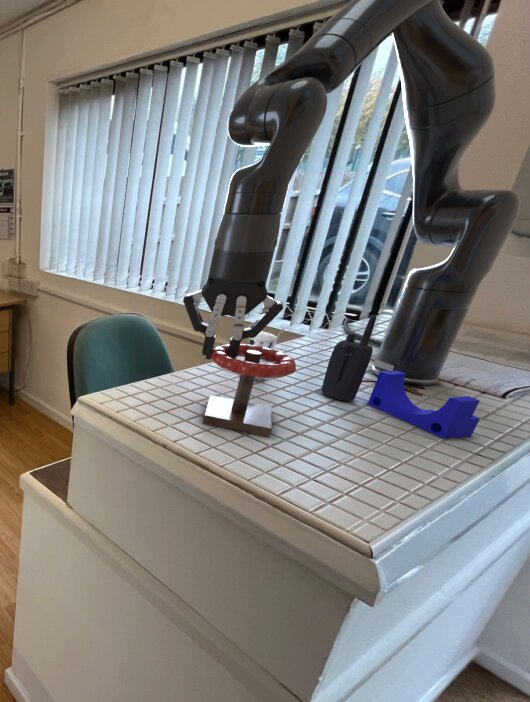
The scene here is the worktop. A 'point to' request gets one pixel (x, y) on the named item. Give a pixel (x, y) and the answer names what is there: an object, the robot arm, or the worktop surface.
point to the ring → (277, 370)
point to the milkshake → (264, 343)
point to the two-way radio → (348, 365)
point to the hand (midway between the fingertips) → (217, 359)
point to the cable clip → (443, 422)
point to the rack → (241, 407)
